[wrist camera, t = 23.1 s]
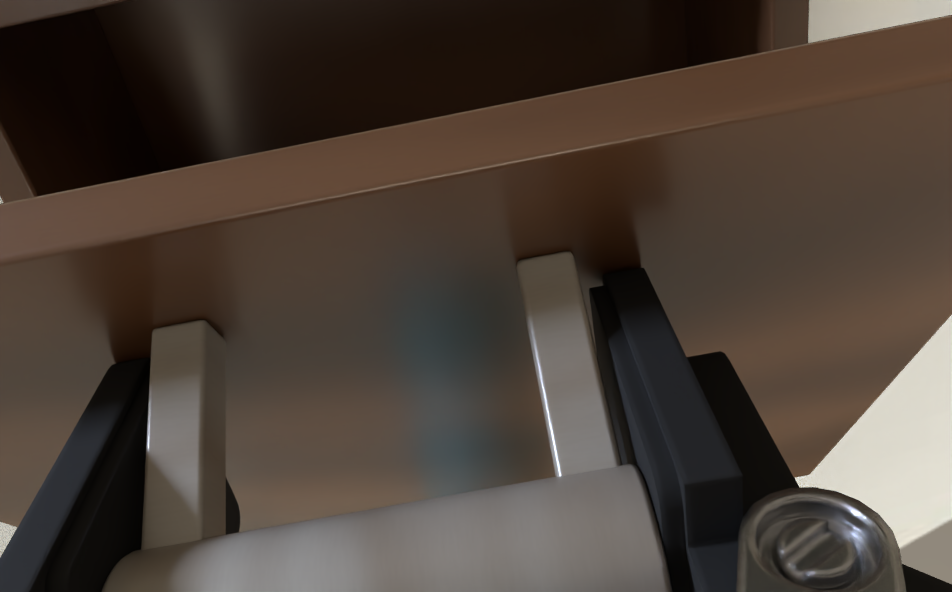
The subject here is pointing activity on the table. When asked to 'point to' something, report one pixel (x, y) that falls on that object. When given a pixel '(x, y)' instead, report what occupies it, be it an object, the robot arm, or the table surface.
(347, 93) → the box
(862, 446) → the table surface
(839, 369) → the box lid
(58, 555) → the robot arm
